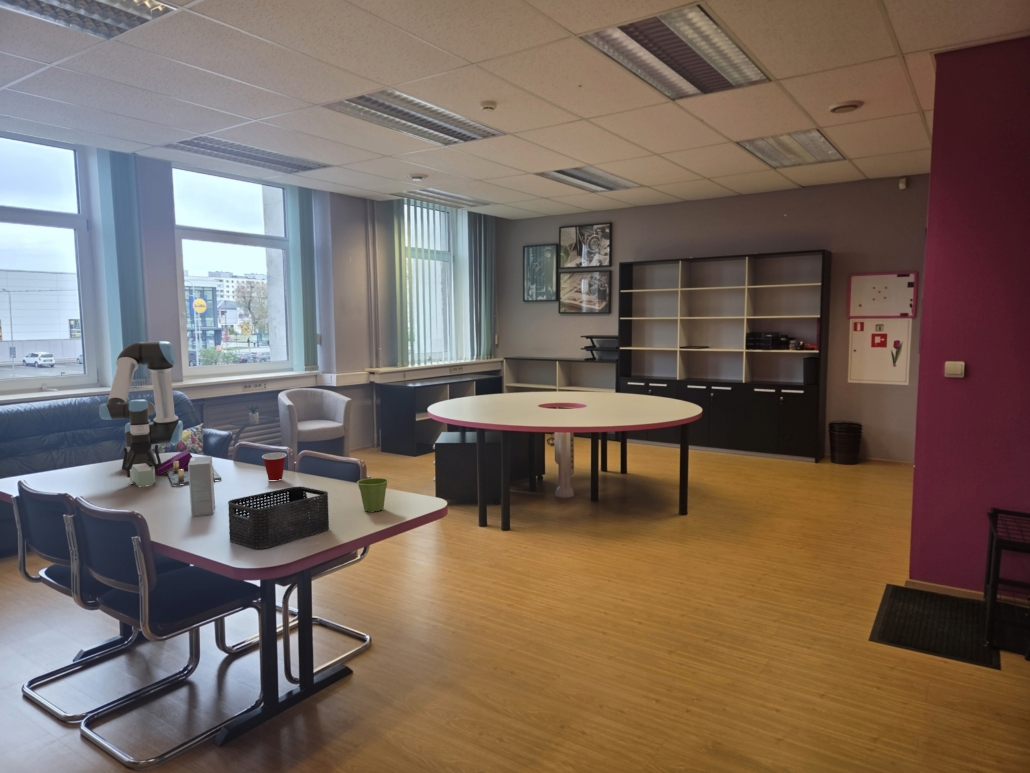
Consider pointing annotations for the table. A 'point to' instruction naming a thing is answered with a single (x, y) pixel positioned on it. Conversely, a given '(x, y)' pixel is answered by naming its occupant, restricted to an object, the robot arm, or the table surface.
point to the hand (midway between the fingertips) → (143, 482)
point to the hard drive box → (201, 486)
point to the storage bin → (278, 517)
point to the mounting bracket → (181, 457)
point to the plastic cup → (274, 465)
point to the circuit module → (142, 474)
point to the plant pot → (373, 493)
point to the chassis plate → (184, 475)
